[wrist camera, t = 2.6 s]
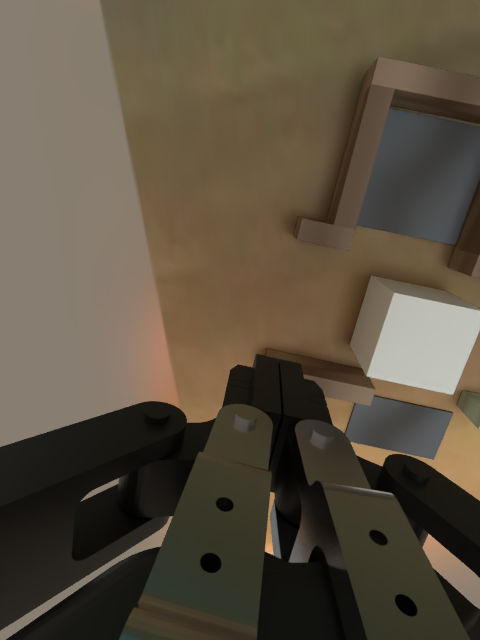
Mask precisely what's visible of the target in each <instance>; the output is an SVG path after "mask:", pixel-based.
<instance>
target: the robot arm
mask: <svg viewBox="0 0 480 640" xmlns="http://www.w3.org/2000/svg"><path fill="white" fill-rule="evenodd" d="M117 478H119V484H117V485H115V486H113V487H111V488H109V489H107V490H105V491H102V492H100V493H98V494H96V495H94V496H92V497H90V498H88V499H86V500H83V501H81V500H82V499H83V498H84V497H85V496H86V495H87V494H88V493H89V492H91V491H92V490H94V489H96V488H98V487H100V486H102V485H104V484H107V483H109V482H111V481H113V480H115V479H117ZM270 492H275V499H274V503H273V506H272V510H271V513H270V522H271V532H272V542H273V552H274V556H273V555H271V554H269V553H267V552H265V542H266V531H267V520H268V510H269V499H270ZM80 501H81V502H80ZM169 516H173V518H172V520H171V523H170V525H169V528H168V530H167V533H166V535H165V538H164V540H163V543H162V546H161V547H156V548H152V549H148V550H145V551H142V552H139V553H137V554H134V555H131V556H130V557H128V558H126V559H124V560H122V561H120V562H118V563H117V564H115V565H113V566H112V567H110V568H109V569H108V570H106V571H105V572H103V573H102V574H100V575H99V576H98V577H96V578H95V579H93V580H92V581H90V582H89V583H87V584H86V585H84V586H83V587H81V588H80V589H79V590H77V591H76V592H74V593H73V594H71V595H70V596H68V597H67V598H66V599H64V600H63V601H61V602H60V603H58V604H57V605H55V606H54V607H53V608H51V609H50V610H48V611H47V612H45V613H44V614H42V615H41V616H40V617H38V618H37V619H35V620H34V621H32V622H31V623H29V624H28V625H27V626H25V627H24V628H22V629H21V630H19V631H18V632H17V633H15V634H13V635H12V636H11V637H9V638H8V639H6V640H480V609H478V608H477V607H475V606H474V605H473V604H472V603H470V601H468V600H467V599H466V598H465V597H464V596H463V595H462V594H461V593H460V592H459V591H458V590H456V589H455V588H454V587H453V586H452V585H451V584H450V583H449V582H448V581H447V580H446V579H444V578H443V577H442V576H441V575H440V574H439V573H438V572H437V571H436V570H434V569H433V568H432V565H431V563H430V562H429V560H428V558H427V556H426V554H425V552H424V550H423V548H422V547H423V545H424V543H425V540H426V538H427V536H428V534H430V535H431V536H432V537H433V538H435V539H436V540H437V541H438V542H439V543H441V544H442V545H443V546H444V547H445V548H446V549H448V550H449V551H450V552H451V553H452V554H453V555H455V556H456V557H457V558H458V559H459V560H460V561H462V562H463V563H464V564H465V565H466V566H467V567H469V568H470V569H471V570H472V571H473V572H474V573H475V574H477V576H478V577H479V578H480V501H479V500H478V499H476V498H475V497H473V496H472V495H470V494H469V493H468V492H466V491H465V490H463V489H462V488H461V487H459V486H458V485H456V484H455V483H453V482H452V481H451V480H449V479H448V478H446V477H445V476H444V475H442V474H441V473H439V472H438V471H436V470H435V469H434V468H432V467H431V466H429V465H428V464H426V463H424V462H422V461H420V460H418V459H416V458H413V457H411V456H407V455H402V454H392V455H389V456H387V458H386V459H385V461H384V464H383V467H382V466H379V465H377V464H375V463H372V462H370V461H367V460H365V459H363V458H361V457H359V456H357V455H356V454H355V452H354V450H353V448H352V445H351V443H350V441H349V439H348V437H347V436H346V435H345V434H344V433H343V432H342V431H341V430H339V429H338V428H336V427H335V426H333V424H332V421H331V417H330V414H329V410H328V407H327V403H326V400H325V396H324V393H323V390H322V389H321V388H320V386H319V385H318V384H317V383H316V382H315V381H313V380H308V379H304V375H303V371H302V366H301V363H297V362H293V361H288V360H283V359H279V360H278V358H274V357H269V356H264V355H260V354H256V356H255V360H254V364H253V368H252V367H247V366H243V365H237V366H235V367H234V368H232V369H231V370H230V374H229V379H228V383H227V388H226V392H225V397H224V402H223V406H222V408H221V409H220V410H219V412H218V415H217V417H216V418H215V419H213V420H210V421H207V422H201V423H187V419H186V416H185V414H184V413H183V412H182V411H181V410H180V409H179V408H177V407H175V406H173V405H171V404H168V403H164V402H156V401H150V402H143V403H139V404H136V405H132V406H129V407H126V408H123V409H120V410H117V411H113V412H110V413H107V414H104V415H101V416H98V417H94V418H91V419H88V420H85V421H82V422H79V423H75V424H72V425H69V426H66V427H63V428H60V429H56V430H53V431H50V432H47V433H44V434H40V435H37V436H34V437H31V438H28V439H24V440H21V441H18V442H15V443H12V444H9V445H5V446H2V447H0V630H2V629H3V628H5V627H6V626H8V625H10V624H11V623H13V622H14V621H16V620H18V619H19V618H21V617H22V616H24V615H26V614H27V613H29V612H30V611H32V610H33V609H35V608H37V607H38V606H40V605H41V604H43V603H45V602H46V601H48V600H49V599H51V598H52V597H54V596H56V595H57V594H59V593H60V592H62V591H63V590H65V589H66V588H68V587H70V586H71V585H73V584H75V583H76V582H78V581H79V580H81V579H82V578H84V577H85V576H87V575H89V574H90V573H92V572H94V571H95V570H97V569H98V568H100V567H101V566H103V565H105V564H106V563H108V562H109V561H111V560H112V559H114V558H116V557H117V556H119V555H120V554H122V553H124V552H125V551H127V550H128V549H130V548H131V547H133V546H135V545H136V544H138V543H139V542H141V541H143V540H144V539H146V538H147V537H149V536H150V535H152V534H154V533H155V532H157V531H158V530H160V529H161V528H162V527H163V526H164V525H165V524H166V523H167V521H168V519H169Z"/></svg>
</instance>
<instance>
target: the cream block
mask: <svg viewBox="0 0 480 640" xmlns="http://www.w3.org/2000/svg"><path fill="white" fill-rule="evenodd" d="M479 331H480V308H478V307H476V306H474V305H472V304H470V303H468V302H467V301H465V300H463V299H461V298H459V297H457V296H455V295H453V294H451V293H449V292H447V291H443V290H439V289H434V288H429V287H424V286H419V285H415V284H410V283H405V282H400V281H396V280H391V279H386V278H381V277H376V276H372V275H371V277H370V281H369V284H368V287H367V290H366V294H365V297H364V300H363V303H362V306H361V310H360V313H359V316H358V319H357V323H356V326H355V329H354V332H353V336H352V339H351V342H350V347H351V349H352V351H353V353H354V354H355V356H356V358H357V360H358V362H359V364H360V365H361V367H362V369H363V371H364V373H365V375H366V376H367V377H372V378H376V379H381V380H386V381H390V382H395V383H400V384H405V385H409V386H414V387H419V388H423V389H428V390H433V391H437V392H442V393H447V394H452V395H453V393H454V391H455V388H456V386H457V384H458V381H459V379H460V376H461V374H462V372H463V369H464V367H465V364H466V362H467V360H468V357H469V355H470V352H471V350H472V348H473V345H474V343H475V340H476V338H477V336H478V333H479Z"/></svg>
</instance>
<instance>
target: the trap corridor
mask: <svg viewBox="0 0 480 640" xmlns="http://www.w3.org/2000/svg"><path fill="white" fill-rule="evenodd" d="M390 105H391V106H396V107H401V108H405V109H410V110H415V111H420V112H425V113H430V114H435V115H440V116H445V117H450V118H455V119H460V120H465V121H469V122H474V123H479V124H480V77H478V76H473V75H468V74H463V73H458V72H453V71H448V70H443V69H438V68H433V67H428V66H423V65H418V64H413V63H408V62H404V61H399V60H394V59H389V58H384V57H378V58H377V59H376V61H375V62H374V63H373V65H372V66H371V67H370V69H369V70H368V71H367V73H366V74H365V75H364V79H363V83H362V87H361V91H360V95H359V98H358V102H357V106H356V110H355V114H354V118H353V121H352V125H351V129H350V133H349V137H348V141H347V145H346V148H345V152H344V156H343V160H342V164H341V168H340V172H339V175H338V179H337V183H336V187H335V191H334V195H333V198H332V202H331V206H330V210H329V214H328V218H327V222H324V221H319V220H314V219H309V218H305V217H300V216H298V220H297V224H296V228H295V233H294V236H295V238H296V239H297V240H300V241H305V242H310V243H314V244H319V245H324V246H329V247H334V248H338V249H343V250H348V251H349V249H350V245H351V242H352V238H353V235H354V231H355V228H356V225H359V226H364V227H369V228H374V229H379V230H383V231H388V232H393V233H398V234H403V235H407V236H412V237H417V238H422V239H427V240H431V241H436V242H441V243H446V244H451V245H456V246H455V249H454V252H453V254H452V257H451V260H450V262H449V265H448V268H451V269H454V270H456V271H459V272H461V273H464V274H467V275H469V276H473V277H477V278H480V181H479V180H480V127H478V126H473V125H468V124H463V123H458V122H453V121H448V120H444V119H439V118H434V117H429V116H424V115H419V114H414V113H409V112H404V111H399V110H394V109H389V108H390ZM478 183H479V184H478ZM477 185H478V187H477ZM476 188H477V189H476ZM475 191H476V192H475ZM474 194H475V195H474ZM473 196H474V197H473ZM472 199H473V200H472ZM471 202H472V203H471ZM470 204H471V206H470ZM469 207H470V208H469ZM468 210H469V211H468ZM467 213H468V214H467ZM466 215H467V216H466ZM465 218H466V219H465ZM464 221H465V222H464ZM463 223H464V225H463ZM462 226H463V227H462ZM461 229H462V230H461ZM460 231H461V233H460ZM459 234H460V235H459ZM458 237H459V238H458ZM457 240H458V241H457ZM456 242H457V243H456ZM265 356H269V357H274V358H278V360H279V359H283V360H288V361H293V362H297V363H301V366H302V371H303V375H304V379H308V380H313V381H315V382H316V383H317V384H318V385H319V386H320V388H321V389H322V390H323V393H324V396H326V397H330V398H335V399H340V400H344V401H349V402H354V403H355V405H354V408H353V411H352V414H351V417H350V420H349V423H348V426H347V429H346V432H345V435H346V436H347V437H348V439H349V441H350V442H355V443H359V444H364V445H369V446H373V447H378V448H382V449H387V450H392V451H396V452H401V453H406V454H410V455H415V456H420V457H424V458H429V459H433V460H434V457H435V455H436V453H437V450H438V448H439V446H440V443H441V441H442V439H443V436H444V434H445V431H446V429H447V427H448V424H449V422H450V420H451V417H452V415H453V413H452V412H449V411H444V410H440V409H435V408H430V407H426V406H421V405H416V404H412V403H407V402H402V401H398V400H393V399H388V398H384V397H379V396H374V393H375V390H376V389H375V387H374V385H373V384H372V382H371V380H370V378H369V377H367V376H366V375H365V373H364V371H363V369H360V368H355V367H351V366H346V365H341V364H337V363H332V362H327V361H323V360H318V359H313V358H308V357H304V356H299V355H294V354H290V353H285V352H280V351H276V350H271V349H267V351H266V355H265ZM457 406H458V407H459V408H460V409H461V411H462V412H463V413H464V414H465V415H466V416H467V417H468V418H469V419H470V420H471V422H472V423H473V424H474V425H475V426H476V427H477V428H478V429H480V394H478V393H473V392H468V391H464V390H463V391H462V394H461V396H460V398H459V401H458V403H457Z"/></svg>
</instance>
